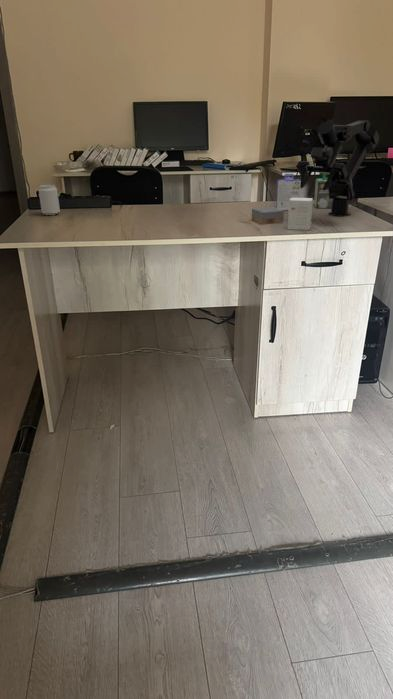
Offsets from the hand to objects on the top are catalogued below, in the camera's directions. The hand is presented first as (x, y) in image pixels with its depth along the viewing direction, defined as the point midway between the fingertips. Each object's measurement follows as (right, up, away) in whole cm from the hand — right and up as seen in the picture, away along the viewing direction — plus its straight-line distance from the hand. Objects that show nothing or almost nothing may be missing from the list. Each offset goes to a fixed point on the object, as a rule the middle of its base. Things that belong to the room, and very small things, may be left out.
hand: (312, 188), depth 184 cm
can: (-104, -1, +31) cm, 109 cm away
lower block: (-15, -9, +13) cm, 22 cm away
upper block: (-15, -7, +12) cm, 20 cm away
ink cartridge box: (-3, +2, +35) cm, 35 cm away
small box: (-5, -14, +1) cm, 15 cm away
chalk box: (+15, +4, +39) cm, 42 cm away
